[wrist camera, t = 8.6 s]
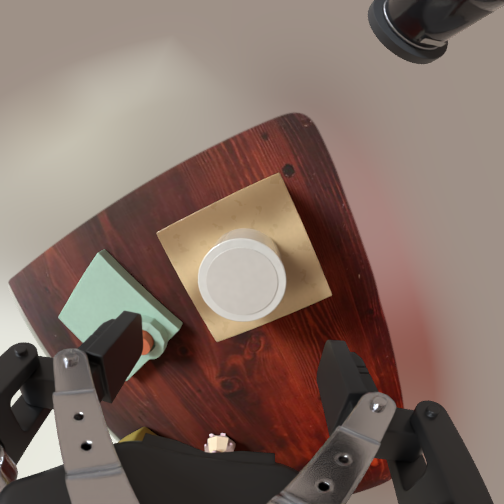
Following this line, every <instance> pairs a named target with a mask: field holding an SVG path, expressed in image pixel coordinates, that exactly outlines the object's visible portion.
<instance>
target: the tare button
mask: <svg viewBox="0 0 504 504" xmlns="http://www.w3.org/2000/svg"><path fill="white" fill-rule="evenodd" d="M153 345H154V340H153V337H152V336H151V334H149V333H148V332H147V331H144V330H143V351H142V355H146V354H148V353H149V351H150V350H151V348H152V347H153Z"/></svg>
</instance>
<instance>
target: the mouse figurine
mask: <svg viewBox="0 0 504 504" xmlns="http://www.w3.org/2000/svg"><path fill="white" fill-rule="evenodd" d="M209 436H210V438H208V442H207V445H206V444H205V446H204V447H205V452H208V453H216V452H233V451H234V448H235V445H236V443H234V442H233V441H232V440H231V439H229V438H228V437H227V436H225V433H221V435H219V436H217V435H214V434H213V433H212V434H209Z"/></svg>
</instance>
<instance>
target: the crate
mask: <svg viewBox="0 0 504 504" xmlns="http://www.w3.org/2000/svg"><path fill="white" fill-rule="evenodd" d="M240 228H249V229H255V230H258V231H260V232H262V233H264V234H266V235H267V236H269V237H270V238H271V239H272V240H273V241H274V242H275V243H276V245H277V246H278V248H279V250H280V252H281V255H282V259H283V263H284V267H285V272H286V280H287V283H286V290H285V294H284V296H283V298H282V300H281V302H280V303H279V305H278V306H277V307H276V308H275V309H274V310H273V311H272V312H271V313H269V314H268V315H266V316H265V317H263V318H260V319H257V320H254V321H248V322H239V321H233V320H229V319H226V318H224V317H222V316H220V315H218V314H217V313H215V312H214V311H213V310H212V309H211V308H210V307H209V306H208V305H207V304H206V302H205V301H204V299H203V298H202V295H201V293H200V290H199V286H198V272H199V268H200V265H201V262H202V260H203V259H204V257H205V256H206V254H207V253H208V251H209V250H210V249H211V247H212V246H213V245H214V243H215V242H216V241H217V240H218V239H219V238H220V237H221V236H222V235H224V234H225V233H227V232H229V231H232V230H235V229H240ZM156 234H157V236H158V238H159V240H160V242H161V244H162V246H163V248H164V249H165V251H166V253H167V255H168V257H169V259H170V261H171V263H172V265H173V267H174V268H175V270H176V272H177V274H178V276H179V278H180V279H181V281H182V283H183V285H184V287H185V288H186V290H187V292H188V294H189V296H190V297H191V299H192V301H193V303H194V304H195V306H196V308H197V310H198V311H199V313H200V315H201V317H202V318H203V320H204V322H205V323H206V325H207V327H208V328H209V330H210V332H211V333H212V335H213V337H214V338H215V340H216V342H219V341H221V340H224V339H227V338H230V337H232V336H235V335H238V334H240V333H243V332H245V331H248V330H251V329H253V328H256V327H258V326H261V325H263V324H266V323H268V322H271V321H273V320H276V319H278V318H281V317H283V316H286V315H288V314H290V313H293V312H295V311H298V310H300V309H302V308H305V307H307V306H309V305H311V304H314V303H316V302H318V301H321V300H323V299H325V298H327V297H330V296H332V293H331V290H330V288H329V285H328V283H327V280H326V278H325V275H324V273H323V270H322V268H321V266H320V263H319V261H318V258H317V256H316V253H315V251H314V249H313V246H312V244H311V242H310V239H309V237H308V235H307V232H306V230H305V228H304V225H303V223H302V221H301V219H300V216H299V214H298V212H297V210H296V207H295V205H294V203H293V201H292V198H291V196H290V194H289V192H288V190H287V187H286V185H285V183H284V181H283V179H282V177H281V175H280V173H276V174H274V175H272V176H270V177H267V178H265V179H263V180H261V181H259V182H257V183H254V184H252V185H250V186H248V187H246V188H244V189H242V190H239V191H237V192H235V193H233V194H231V195H229V196H227V197H225V198H223V199H221V200H219V201H217V202H215V203H213V204H211V205H209V206H207V207H205V208H203V209H201V210H199V211H197V212H195V213H193V214H191V215H189V216H187V217H185V218H183V219H181V220H179V221H177V222H175V223H174V224H172V225H170V226H168V227H166V228H164V229H162V230H160V231H159V232H157V233H156Z"/></svg>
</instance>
